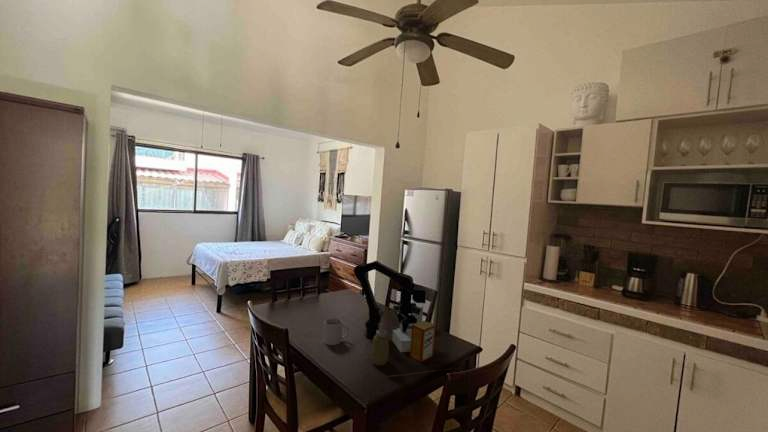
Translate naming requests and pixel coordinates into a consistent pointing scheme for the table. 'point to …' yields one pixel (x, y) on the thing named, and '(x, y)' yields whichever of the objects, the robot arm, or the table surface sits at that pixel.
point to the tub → (401, 344)
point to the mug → (333, 331)
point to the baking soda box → (422, 341)
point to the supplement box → (419, 317)
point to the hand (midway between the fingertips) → (403, 330)
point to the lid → (403, 334)
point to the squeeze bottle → (380, 347)
